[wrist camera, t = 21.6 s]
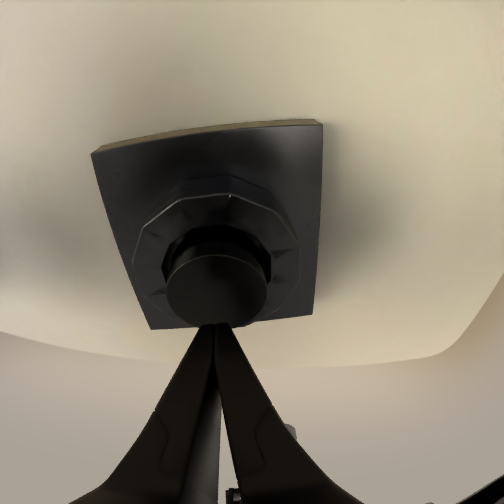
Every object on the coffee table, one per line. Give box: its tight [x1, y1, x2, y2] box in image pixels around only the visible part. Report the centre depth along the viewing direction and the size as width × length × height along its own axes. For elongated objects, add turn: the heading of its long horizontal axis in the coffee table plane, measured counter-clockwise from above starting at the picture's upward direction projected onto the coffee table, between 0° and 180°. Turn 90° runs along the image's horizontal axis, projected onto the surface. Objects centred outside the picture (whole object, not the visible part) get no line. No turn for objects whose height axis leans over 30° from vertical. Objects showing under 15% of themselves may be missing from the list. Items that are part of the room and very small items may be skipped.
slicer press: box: [91, 119, 323, 330], centre depth 13 cm, size 10×9×3 cm
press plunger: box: [166, 228, 268, 329], centre depth 11 cm, size 4×4×2 cm
